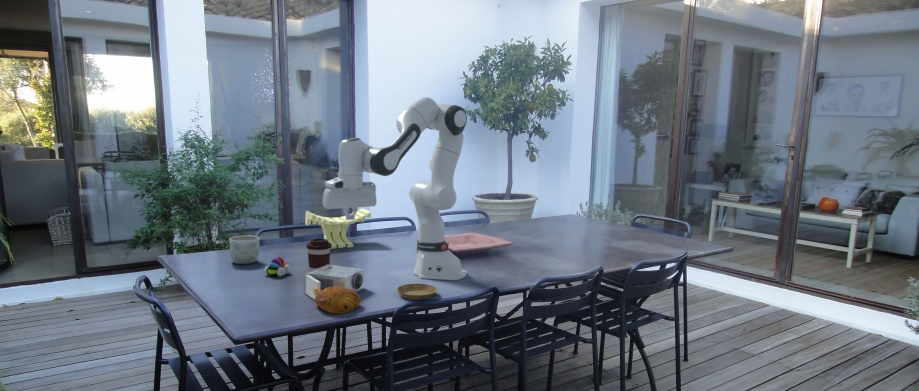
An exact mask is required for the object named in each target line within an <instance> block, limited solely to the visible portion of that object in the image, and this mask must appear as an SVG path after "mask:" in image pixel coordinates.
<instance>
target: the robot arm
mask: <svg viewBox="0 0 919 391" xmlns="http://www.w3.org/2000/svg"><path fill="white" fill-rule="evenodd" d="M467 121H468V115H467V111H466V109H464V108H463V107H461V106H459V105H456V104H454V105H453V104H446V103H440V104H437V102H436V101H435V100H434V99H432V98H431V97H428V96H425V97H421V98H419V99H417V100H416V101H414V102H413V103H411V104H410V105H409V106H407V107H406V108H405V109H404V110H403V111H402V112H401V113H400V114H399V115H398V117H397V118H396V122H395V123H396V129H397V130H398V133H399V135H398V136H397V138H396V139H395V140H394V141H393V142H392V143H391V145H388V146H386V147H373V146H372V145H369V144H367V143H365V141H363V140H362V139H361V138H359V137H350V138H345V139H342V140H341V141H340V143H339V146H338V156H337V157H338V158H337V160H338V161H337V162H338V168H339V169H338V173H337V177H334V178H332V179H330V180H326V181H325V182H324V183H325V184H324V186H325V189H324V190H323V194H322V206H323V208H324V209H325V210H334V209H337V210H338V209H342V212H343V214H344V216H346V220H354V219H355V214H356V212H357V211H359V209H358V208H367V207H375V206H376V205H377V192H376V191H377V185H376V184H375V183H374V182H373V181H363V180H364V179H363V178H364V176H363V175H364V173H365V172H366V173H369V174H375V175H378V176H382V177H388V176H391V175H392V174H394V173H395V172H396V170H397V168H398V167H399V165H400V162H402V159H403V158H404V157H405V155H406V154H407V153H408V152H409V151H410V149H411V148H412V147H413V146H414V145H415V144H416V142H417V141H418V140H419V138H420V137H421V134H422V133H423V132H424V131H425V130H426V129H428V130H433V131H438V134H439V135H438V136H439V137H438V139H437V141H436V144H435V146H434V149H433V151H432V152H433V153H432V154H431V158H430V161H429V164H428V165H429V169H430V172H431V174H430V175H431V176H430V181H428V180H427V181H426V180H422V181H421V180H420V181H417V182H415V183H413V184H412V185H411V187H410V188H409V192H408V193H409V194H408V195H409V198H410V200H411V202H412V203H413V205H414V208H415V209H414V210H415V213H416V218H417V226H418V228H417V229H418V232H417V234H418V235H417V240H416V254H417V255H416V261H415V267H414V271H413V274H414V275H416V276H417V277H419V278H420V279H427V280H429V279H430V280H441V281H442V280H445V281H459V280H462V279H463V278H466V276H467V271H466V270H464V269H463V267H462V262H461V260H460V258H458V257H457V256H456V255H455V254H454V253H452V252H451V251H450V250H449V246H450V242H446V241H445V231H446V230H445V221H444V219H443V217H442V216H441V213H440V211H447V210H451V209H452V208H453V207H454V206H455V204H456V201H457V193H456V191H455V189H454V188H455V187H454V176H455V171H456V169H457V164H458V162H459V159H460V155H461V152H462V148H463V143H464V133H463V131H464V130H465V127H466V125H467V123H468V122H467ZM363 172H364V173H363ZM349 209H351V210H352V211H351V213H349ZM349 214H350V215H349Z"/></svg>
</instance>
